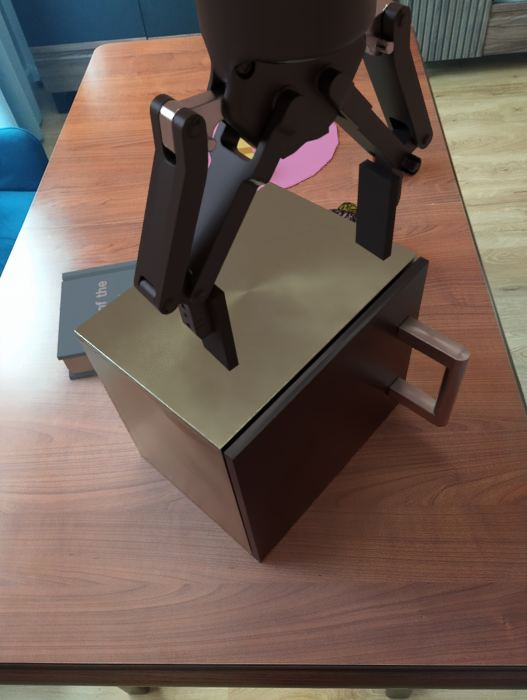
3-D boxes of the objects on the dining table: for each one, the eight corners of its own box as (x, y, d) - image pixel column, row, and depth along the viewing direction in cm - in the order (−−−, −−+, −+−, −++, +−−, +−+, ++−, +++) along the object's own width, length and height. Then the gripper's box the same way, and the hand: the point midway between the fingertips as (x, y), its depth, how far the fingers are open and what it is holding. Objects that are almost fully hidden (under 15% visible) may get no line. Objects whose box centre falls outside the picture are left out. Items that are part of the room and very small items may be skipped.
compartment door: (453, 432, 67) (501, 295, 49) (312, 610, 57) (307, 521, 39) (395, 395, 71) (420, 255, 53) (253, 557, 61) (222, 452, 42)
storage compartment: (393, 395, 71) (418, 253, 53) (252, 555, 61) (220, 449, 42) (282, 325, 80) (269, 180, 61) (141, 456, 69) (73, 330, 50)
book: (70, 379, 77) (56, 357, 73) (74, 292, 87) (62, 268, 83) (239, 348, 78) (235, 324, 74) (224, 265, 88) (219, 240, 84)
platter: (167, 209, 97) (163, 192, 94) (161, 107, 116) (157, 91, 114) (357, 179, 97) (358, 162, 95) (319, 83, 117) (319, 66, 114)
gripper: (424, -173, 28) (388, 189, 45) (-68, 7, 20) (113, 371, 37) (564, -153, 24) (468, 235, 41) (28, 81, 16) (181, 450, 33)
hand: (301, 299), depth 39 cm, fingers open, 13 cm apart
